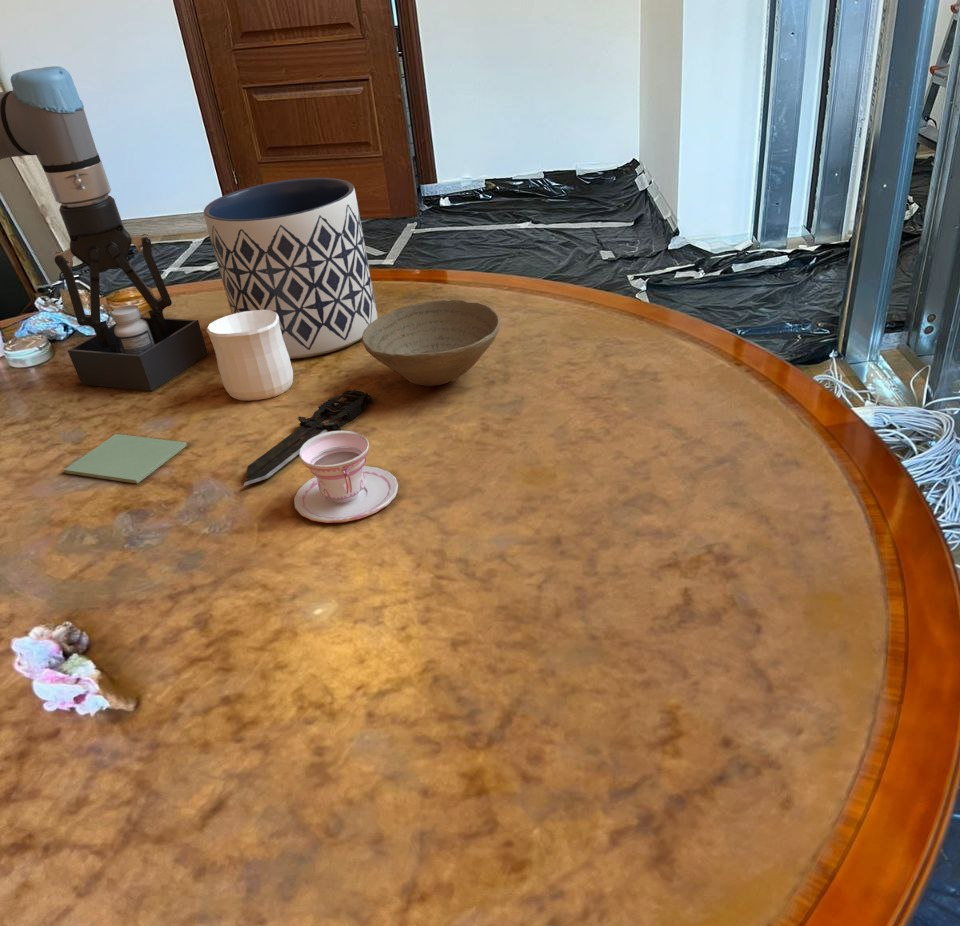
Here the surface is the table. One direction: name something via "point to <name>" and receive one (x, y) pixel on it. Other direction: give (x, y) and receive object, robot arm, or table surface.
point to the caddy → (140, 358)
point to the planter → (296, 260)
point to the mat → (126, 458)
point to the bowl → (432, 339)
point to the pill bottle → (131, 330)
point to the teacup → (342, 479)
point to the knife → (306, 427)
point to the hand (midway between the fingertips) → (142, 359)
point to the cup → (251, 354)
